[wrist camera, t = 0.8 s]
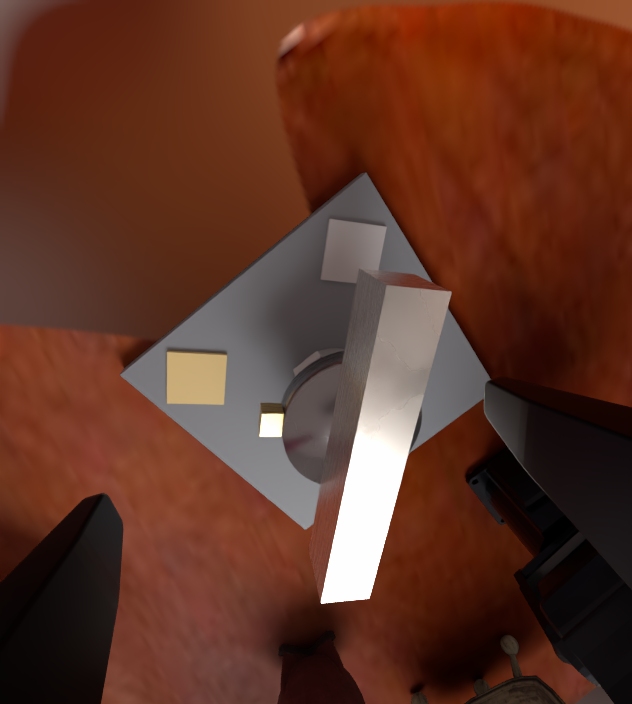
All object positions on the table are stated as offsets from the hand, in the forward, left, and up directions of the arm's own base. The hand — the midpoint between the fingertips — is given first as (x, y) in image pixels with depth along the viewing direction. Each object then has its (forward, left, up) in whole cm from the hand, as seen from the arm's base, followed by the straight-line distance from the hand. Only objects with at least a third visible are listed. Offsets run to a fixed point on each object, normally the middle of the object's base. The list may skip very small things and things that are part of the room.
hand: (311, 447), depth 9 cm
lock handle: (-6, +1, -9) cm, 11 cm away
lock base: (-6, 0, -13) cm, 15 cm away
